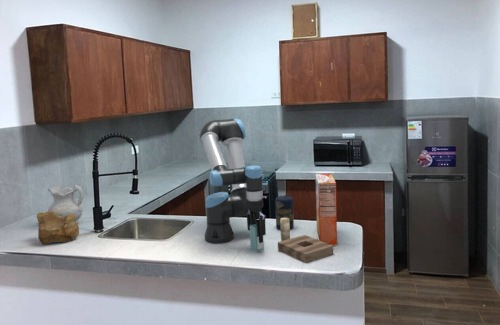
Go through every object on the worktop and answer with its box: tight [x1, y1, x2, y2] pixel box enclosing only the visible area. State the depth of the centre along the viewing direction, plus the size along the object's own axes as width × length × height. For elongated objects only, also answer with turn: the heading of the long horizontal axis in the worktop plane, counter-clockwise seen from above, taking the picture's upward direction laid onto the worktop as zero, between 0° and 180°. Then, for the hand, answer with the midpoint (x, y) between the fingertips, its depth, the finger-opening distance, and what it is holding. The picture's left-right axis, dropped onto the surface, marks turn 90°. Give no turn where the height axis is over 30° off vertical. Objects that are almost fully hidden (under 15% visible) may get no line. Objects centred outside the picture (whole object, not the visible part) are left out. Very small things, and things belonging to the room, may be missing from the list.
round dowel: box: [280, 218, 291, 241], centre depth 220 cm, size 4×4×12 cm
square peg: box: [249, 224, 265, 253], centre depth 213 cm, size 4×4×12 cm
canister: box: [274, 194, 295, 230], centre depth 243 cm, size 10×10×18 cm
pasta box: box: [315, 173, 338, 246], centre depth 225 cm, size 23×8×30 cm, turn 175°
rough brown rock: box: [36, 210, 80, 245], centre depth 240 cm, size 23×17×15 cm
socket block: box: [277, 234, 334, 264], centre depth 207 cm, size 20×16×4 cm
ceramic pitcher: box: [47, 184, 84, 225], centre depth 269 cm, size 22×20×25 cm
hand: (257, 247), depth 214 cm, fingers closed on square peg, 4 cm apart
